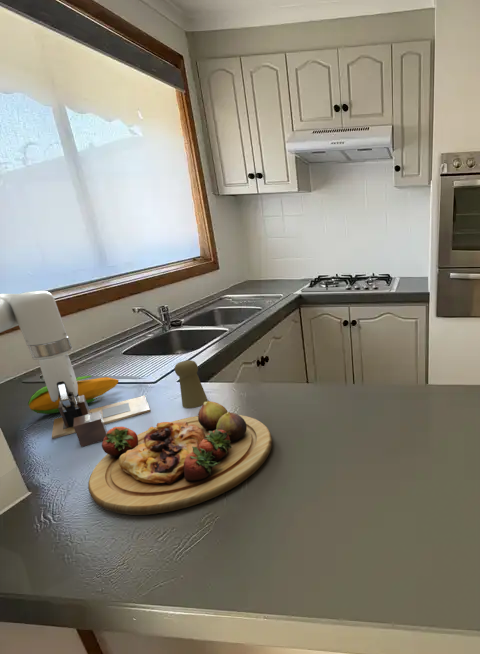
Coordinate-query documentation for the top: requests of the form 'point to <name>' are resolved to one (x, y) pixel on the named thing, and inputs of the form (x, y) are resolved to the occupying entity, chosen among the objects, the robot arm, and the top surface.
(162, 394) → the top surface
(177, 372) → the pepper mill
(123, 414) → the word board
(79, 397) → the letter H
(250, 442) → the wooden plate
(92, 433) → the brown cube
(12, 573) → the top surface
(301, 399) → the top surface
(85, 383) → the corn
